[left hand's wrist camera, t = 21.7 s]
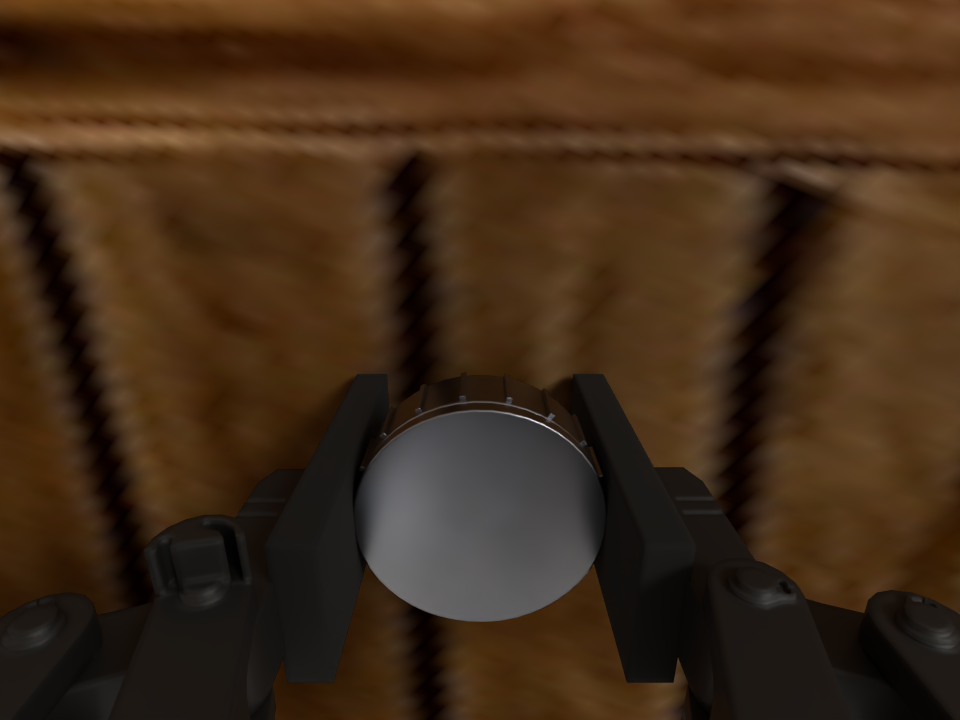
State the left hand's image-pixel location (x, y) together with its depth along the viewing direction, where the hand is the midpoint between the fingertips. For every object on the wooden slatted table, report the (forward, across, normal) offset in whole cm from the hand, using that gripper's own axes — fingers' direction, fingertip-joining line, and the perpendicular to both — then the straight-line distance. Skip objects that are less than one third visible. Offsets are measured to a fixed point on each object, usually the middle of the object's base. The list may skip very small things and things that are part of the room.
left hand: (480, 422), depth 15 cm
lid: (-4, 0, 0) cm, 4 cm away
